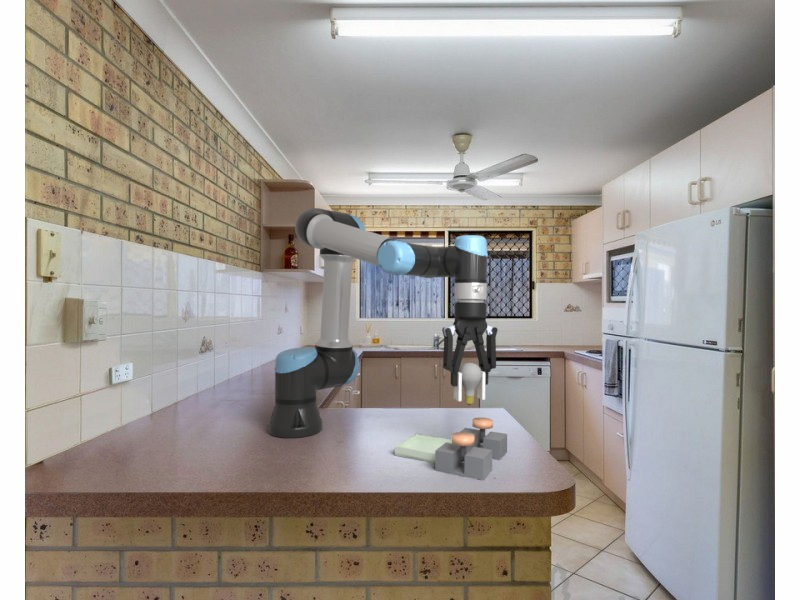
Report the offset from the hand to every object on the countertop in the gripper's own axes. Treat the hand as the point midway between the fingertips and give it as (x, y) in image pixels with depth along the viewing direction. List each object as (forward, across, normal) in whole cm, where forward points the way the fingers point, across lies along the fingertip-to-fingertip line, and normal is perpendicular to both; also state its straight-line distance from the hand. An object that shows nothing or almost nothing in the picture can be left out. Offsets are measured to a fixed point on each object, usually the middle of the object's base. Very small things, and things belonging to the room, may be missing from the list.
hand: (469, 399), depth 105 cm
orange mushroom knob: (+12, +6, +4) cm, 14 cm away
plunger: (+12, -4, -6) cm, 14 cm away
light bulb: (+2, 0, 0) cm, 2 cm away
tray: (+15, -8, +8) cm, 18 cm away
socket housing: (+14, +1, -1) cm, 14 cm away
